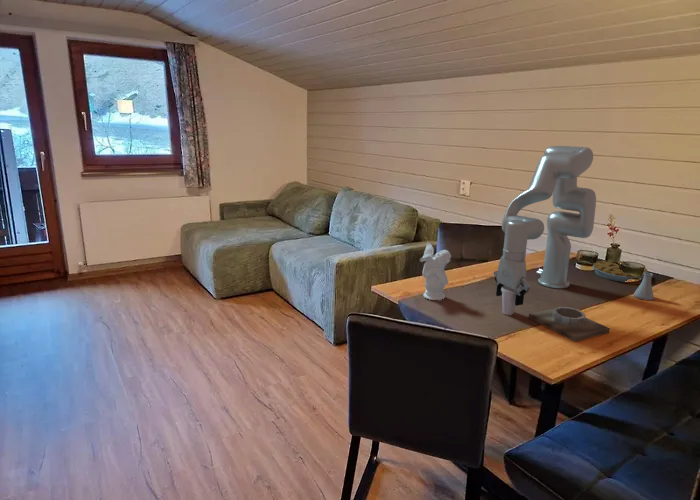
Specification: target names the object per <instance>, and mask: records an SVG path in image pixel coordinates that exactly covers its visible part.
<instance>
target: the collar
mask: <svg viewBox="0 0 700 500" xmlns="http://www.w3.org/2000/svg"><path fill="white" fill-rule="evenodd" d="M565 316H569V317H565ZM570 317H573V318H570ZM585 317H586V313H585V312H584V311H582V310H579V309H578V308H577V309H576V308H572V307H569V306H558V308H557V307H554V310H553V314H552V319H553V321H554V322H556V323H558V324H560V325H563V326H567V327H581V326H583V325H584V323H585ZM586 318H587V317H586Z"/></svg>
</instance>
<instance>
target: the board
mask: <svg viewBox="0 0 700 500" xmlns="http://www.w3.org/2000/svg"><path fill="white" fill-rule="evenodd" d="M558 307H559V306H558ZM558 307H556V308H558ZM554 308H555V307H554ZM554 308H549V309H544V310H540V311H535V312H531V313H528V317H529V319H530V318H531V319H530V320H533V321H535V322H536V323H538V324H540V325H542V326H544V327H546V328H548V329H549V330H552V331H553V332H555V333H557V334H559V335H561V336H563V337H565V338H567V339H569V340H571V341H573V342H579V341H583V340H587V339H590V338H594V337H598V336H601V335H605V334H608V333H610V330H611V328H609V327H608V326H605V325H603V324H601V323H599V322H597V321H595V320H592V319H590V318H588V317H585V323H584V325H583V326H581V327H567V326H563V325H560V324H558V323H556V322H554V321H553V319H552V314H553V310H554ZM565 317H569V316H565ZM570 318H573V317H570Z"/></svg>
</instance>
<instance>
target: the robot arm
mask: <svg viewBox="0 0 700 500" xmlns="http://www.w3.org/2000/svg"><path fill="white" fill-rule="evenodd" d="M593 152H594V151H593V150H592V149H591V148H590V147H587V146H585V147H584V146H571V145H570V146H569V145H551V146H549V147H546V149H544V155H542V156H541V157H540V158H539V160H538V163H537V165H536V167H535V170H534V173H533V175H532V177H531V181H530V183H529V186H528V188H527V189H526V190H525V191H523V192H521V193H519V195H517V196H516V197H515V198H513V200H511V202H510V203H509V205H508V206H507V208H506V211H505V214H504V216H503V218H502V223H501V229H502V231H503V233H504V239H503V240H504V242H503V249H502V256H500V259H499V263H498V266H497V270H494V271H493V276H494V280H495V285H496V292H495V295H496V297H500V296H501V297H502V291H501V288H502V287H503V286H507V287H509V288H512V289H516V292H517V294H518V295H516V299H515V307H516V306H517V307H518V306H522V305H524V299H525V295H526V294H528V293H529V291H530V289H531V284H530V283H529V282H528V281H527V280H526V279H527V261H526V255H527V245H528V241H529V240H535V239H538V238H540V237H541V236H542V235H543V234H544V231H545V225H544V222H543V220H541V219H539V218H535V217H530V216H529V217H528V216H522V215H518V214H519V212H520V211H522V210H523V208H525V207H527V206H530V205H533V204H536V203H541V202H542V201H543V202H544V201H546V200H549V199H550V198H551V197H552V205H553V207H554V208H556V209H559V210H558V211H557V210H555V211H552V212H550V213H549V214H548V216H547V219H546V231H547V236H546V237H547V238H546V245H545V254H544V261H543V268H539V269H538V270H537V271H536V274H538V275H540V277H538V279H537V282H538V284H539V285H542V286H543V287H548V288H552V289H567V288H568V287H570V286H571V285H570V281H569V280H567V279H568V278H567V277H568V271H569V265H570V264H569V263H570V256H571V249H572V244H571V240H570V238H569V237H573V238H578V239H579V238H580V239H587V238H590V236H591V235H592V234H593V231H594V224H595V215H596V207H597V196H596V195H597V194H596V191H595V190H593V189H592V188H589V187H579V186H578V177H580V176H581V175H582V174H583V173H585V172H586V171H587V170H589V168H590V167H591V166H592V163H593V160H594V153H593ZM560 210H561V211H560ZM564 210H565V211H564ZM569 211H570V212H569ZM571 211H572V212H571ZM577 212H578V213H577ZM519 289H520V290H519Z"/></svg>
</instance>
